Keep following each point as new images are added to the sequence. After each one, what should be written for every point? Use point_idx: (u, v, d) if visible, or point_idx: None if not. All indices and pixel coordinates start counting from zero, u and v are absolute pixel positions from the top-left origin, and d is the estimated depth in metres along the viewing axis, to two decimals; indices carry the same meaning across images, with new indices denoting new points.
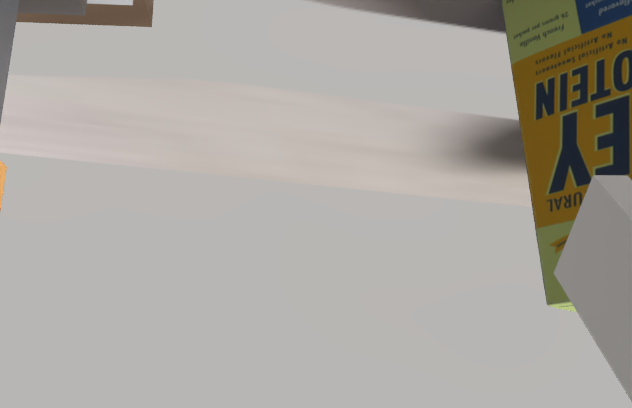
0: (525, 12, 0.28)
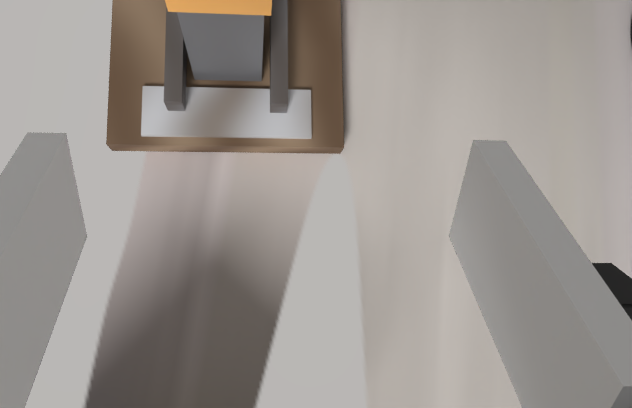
0: None
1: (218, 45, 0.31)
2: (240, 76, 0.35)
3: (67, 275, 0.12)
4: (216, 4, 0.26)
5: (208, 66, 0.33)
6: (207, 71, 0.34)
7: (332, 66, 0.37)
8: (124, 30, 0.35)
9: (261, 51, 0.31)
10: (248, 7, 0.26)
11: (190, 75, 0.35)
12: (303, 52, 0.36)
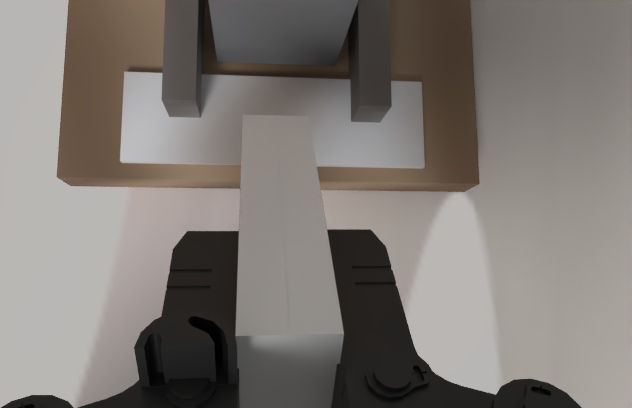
0: None
1: None
2: (300, 57, 0.19)
3: None
4: None
5: (246, 35, 0.18)
6: (243, 45, 0.18)
7: (455, 41, 0.21)
8: None
9: (354, 3, 0.16)
10: None
11: (209, 54, 0.20)
12: (405, 17, 0.21)
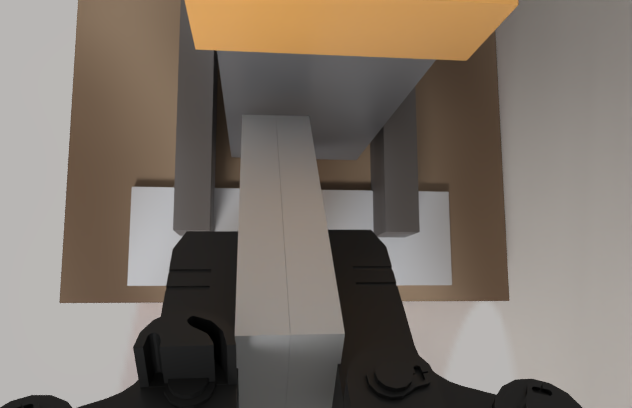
0: None
1: (296, 111, 0.14)
2: (320, 154, 0.18)
3: None
4: (334, 33, 0.09)
5: None
6: None
7: (483, 145, 0.20)
8: (99, 76, 0.19)
9: (384, 121, 0.15)
10: (418, 42, 0.09)
11: (222, 163, 0.19)
12: (431, 118, 0.20)
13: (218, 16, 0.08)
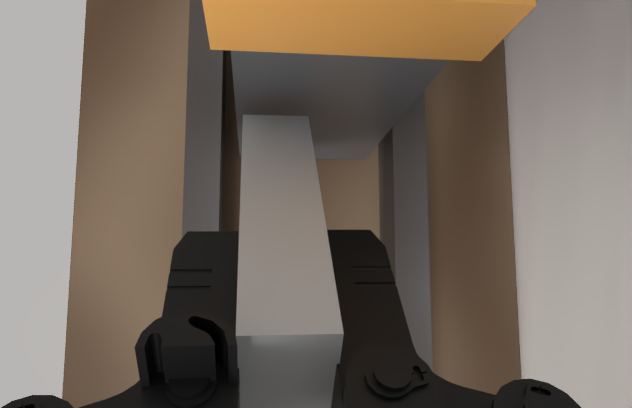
0: None
1: (307, 110, 0.14)
2: (329, 154, 0.18)
3: None
4: (350, 33, 0.09)
5: None
6: None
7: None
8: (94, 326, 0.18)
9: (394, 120, 0.15)
10: (433, 42, 0.09)
11: None
12: (447, 358, 0.19)
13: (235, 16, 0.08)
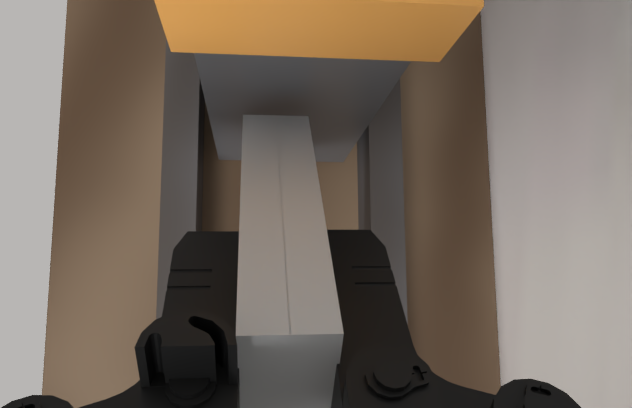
0: None
1: (279, 113, 0.14)
2: None
3: None
4: (306, 35, 0.09)
5: None
6: None
7: None
8: None
9: (367, 122, 0.15)
10: (390, 43, 0.10)
11: None
12: None
13: (190, 19, 0.09)
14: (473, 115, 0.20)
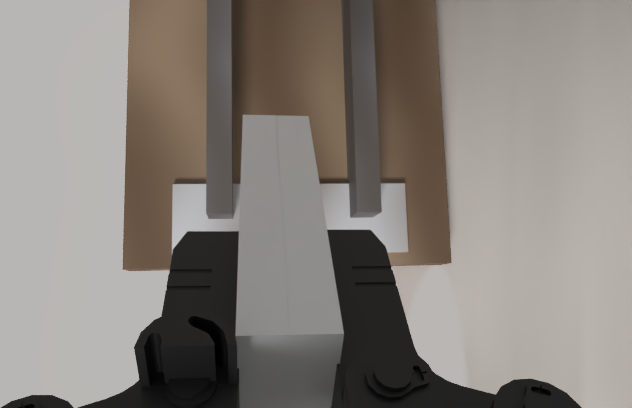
0: None
1: None
2: None
3: None
4: None
5: None
6: None
7: (431, 148, 0.27)
8: (145, 103, 0.25)
9: None
10: None
11: (237, 165, 0.25)
12: (391, 129, 0.26)
13: None
14: None
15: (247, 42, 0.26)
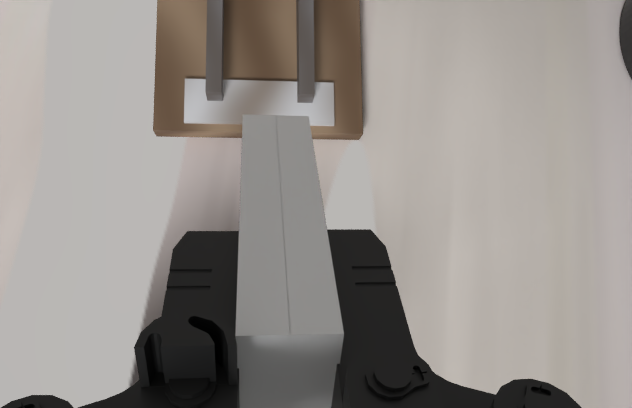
0: None
1: None
2: None
3: None
4: None
5: None
6: None
7: (352, 61, 0.41)
8: (168, 29, 0.40)
9: None
10: None
11: (226, 69, 0.40)
12: (326, 49, 0.41)
13: None
14: None
15: None
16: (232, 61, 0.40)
